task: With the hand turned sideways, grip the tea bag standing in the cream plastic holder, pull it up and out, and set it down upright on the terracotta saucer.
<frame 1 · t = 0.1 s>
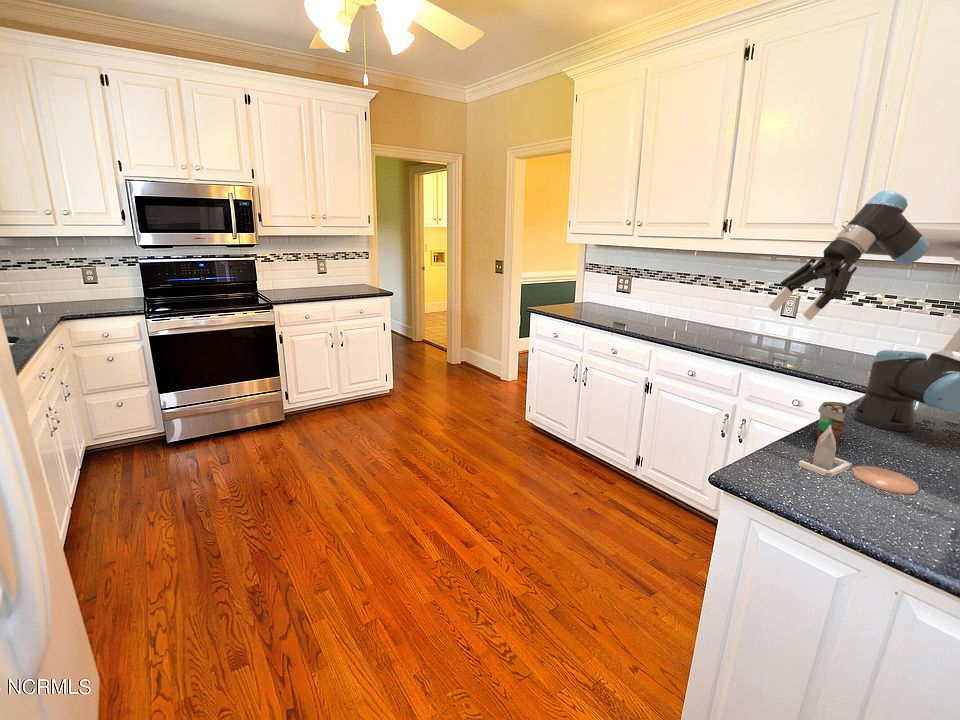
hand: (787, 312, 127), 36 cm above the counter, tool tilted 35°, fingers open, 13 cm apart
saucer: (883, 480, 114), on the counter
holder: (822, 465, 120), on the counter
food container: (824, 439, 137), on the counter
tea bag: (821, 466, 120), on the counter
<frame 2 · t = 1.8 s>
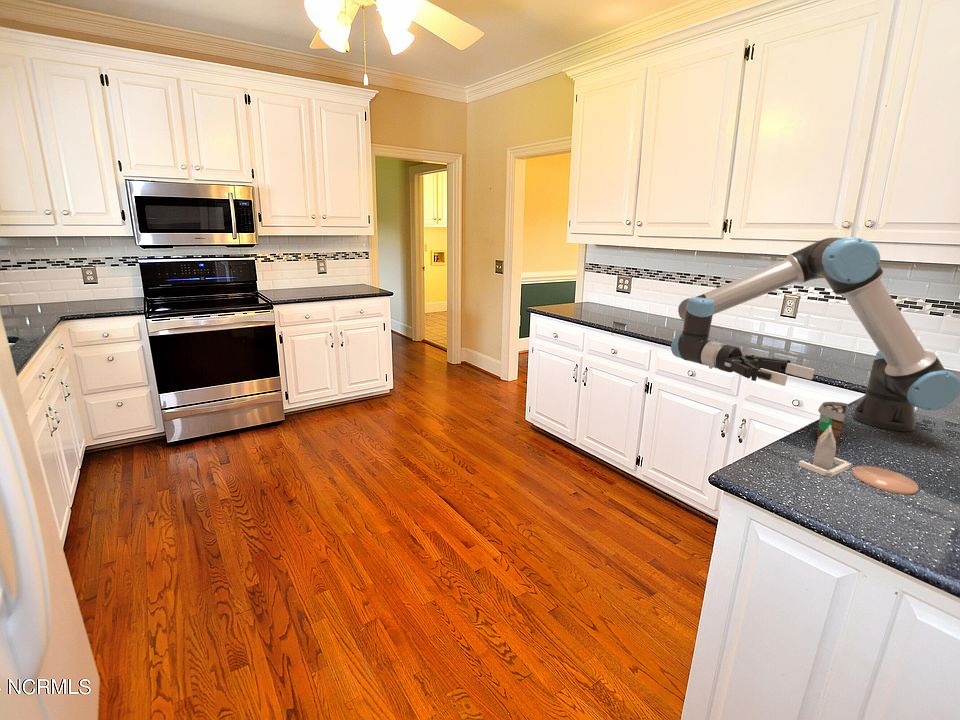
hand: (799, 377, 123), 20 cm above the counter, tool horizontal, fingers open, 13 cm apart
nothing on the counter moved.
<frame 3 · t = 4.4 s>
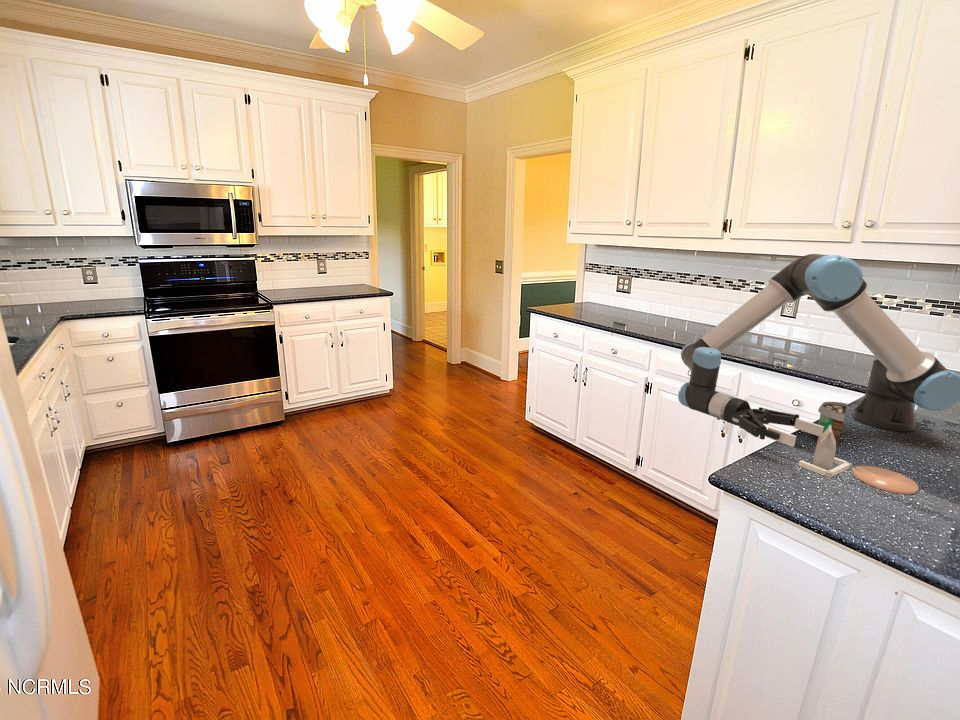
hand: (808, 436, 122), 6 cm above the counter, tool horizontal, fingers open, 13 cm apart
nothing on the counter moved.
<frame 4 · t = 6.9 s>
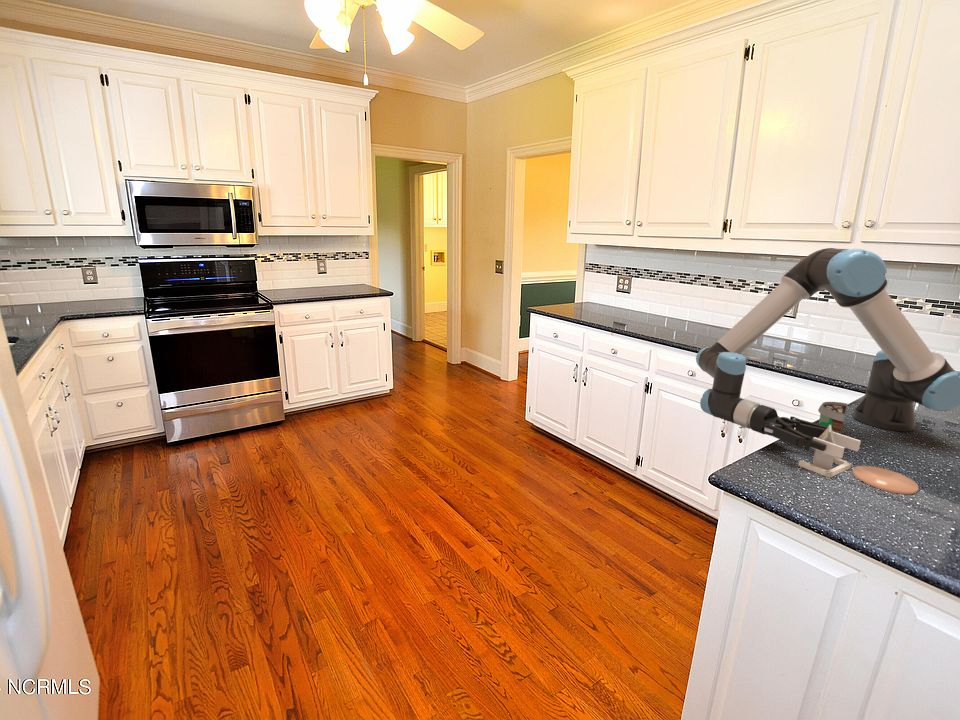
hand: (850, 449, 114), 7 cm above the counter, tool horizontal, fingers closed on tea bag, 8 cm apart
tea bag: (821, 466, 120), on the counter, touching gripper
everything else where it was.
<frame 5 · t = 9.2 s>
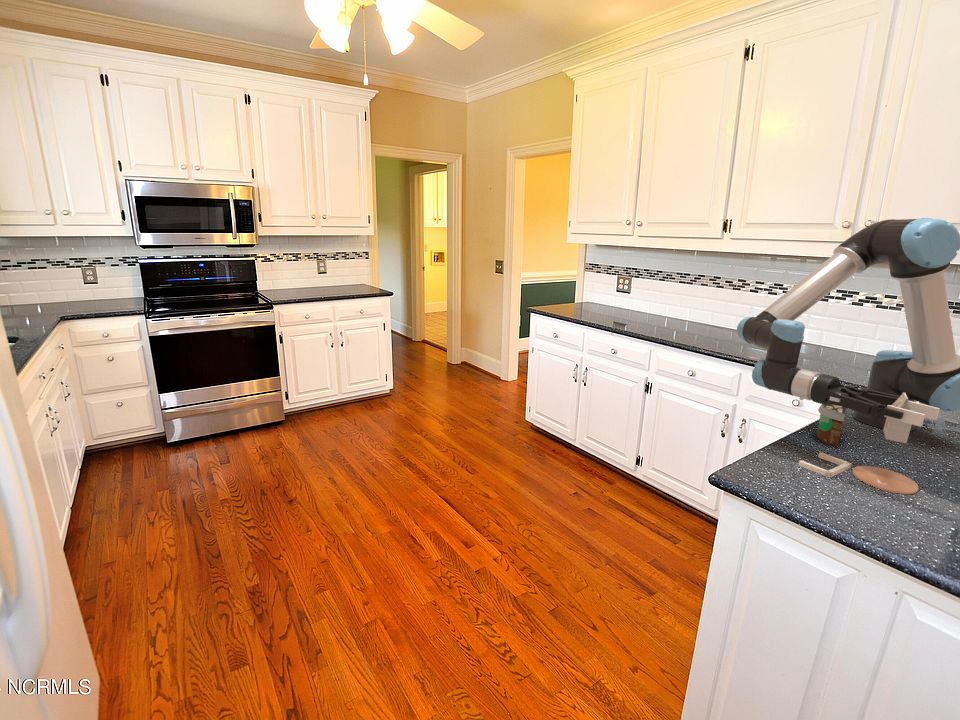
hand: (930, 417, 105), 18 cm above the counter, tool horizontal, fingers closed on tea bag, 8 cm apart
tea bag: (894, 437, 111), point 11 cm above the counter, touching gripper
everything else where it was.
when the fingers open (8 cm above the counter, at t = 11.7 s): tea bag drops 1 cm, resting on saucer.
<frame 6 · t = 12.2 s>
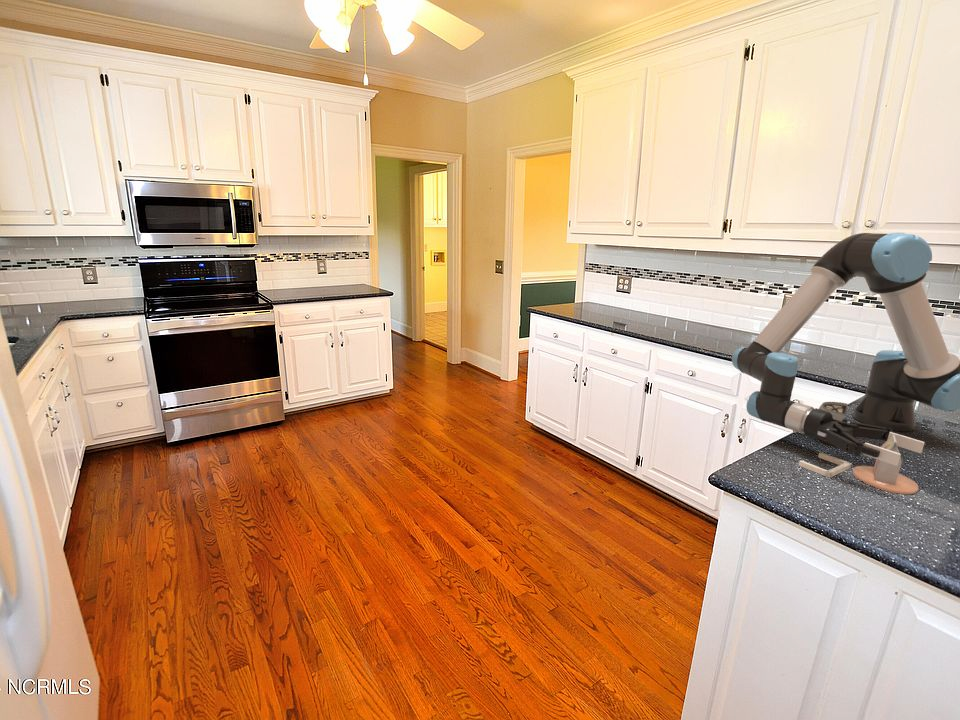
hand: (911, 453, 109), 8 cm above the counter, tool horizontal, fingers open, 13 cm apart
tea bag: (883, 478, 114), point 1 cm above the counter, touching saucer
everything else where it was.
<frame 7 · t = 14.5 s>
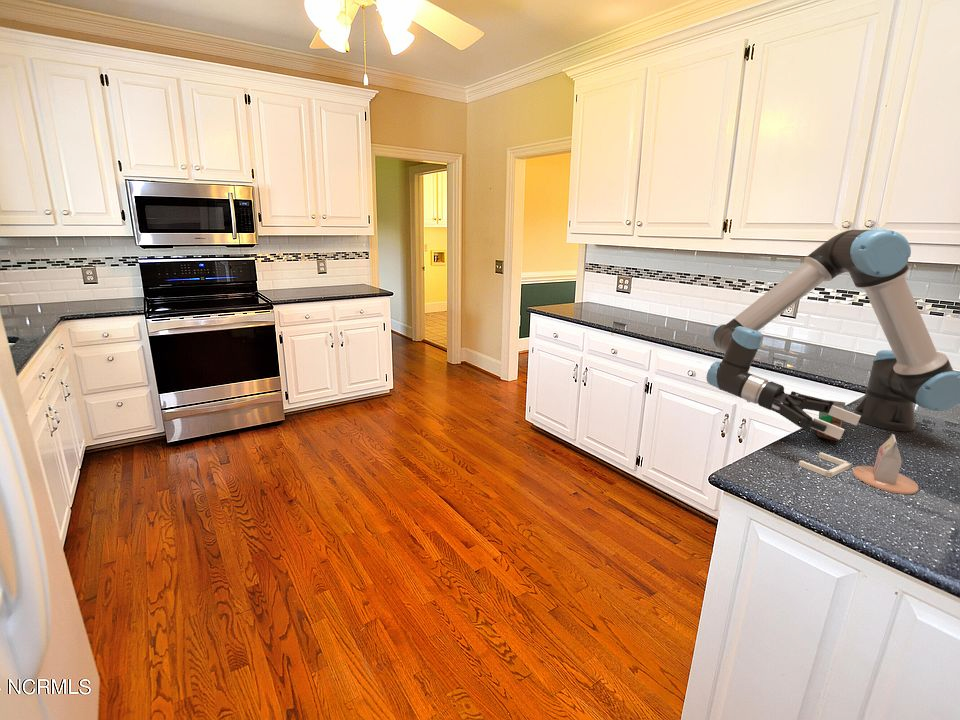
hand: (850, 427, 121), 9 cm above the counter, tool horizontal, fingers open, 13 cm apart
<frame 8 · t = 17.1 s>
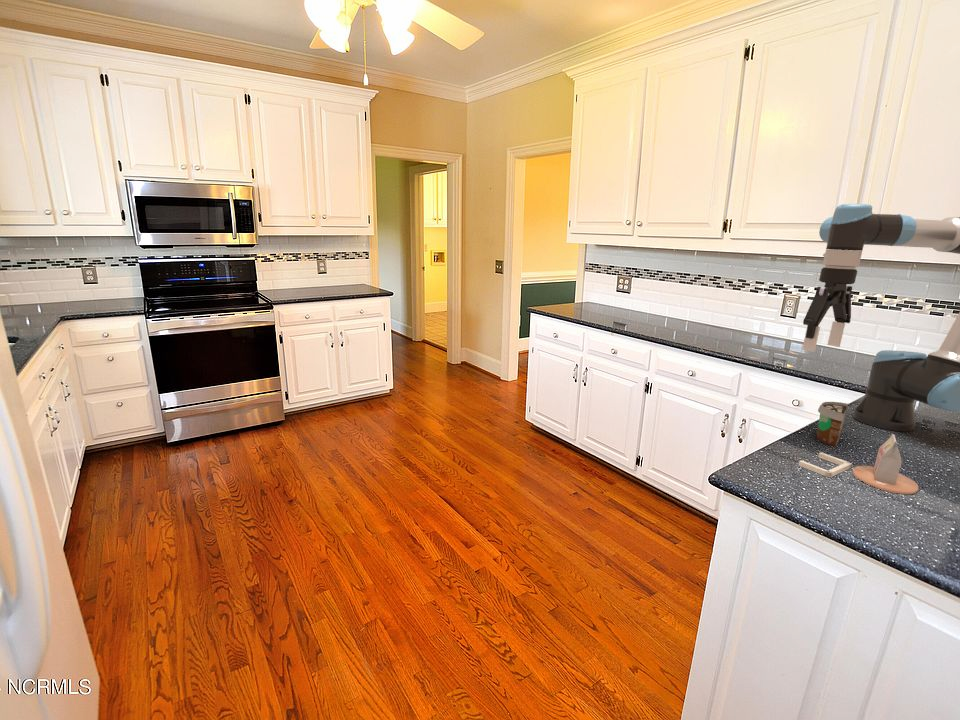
hand: (821, 348, 128), 27 cm above the counter, tool pointing down, fingers open, 13 cm apart
at the end: tea bag inside the target area on the saucer (0.2 cm from its centre), point 0.6 cm above the saucer's base; tea bag tilted 0°; the gripper is holding nothing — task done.
